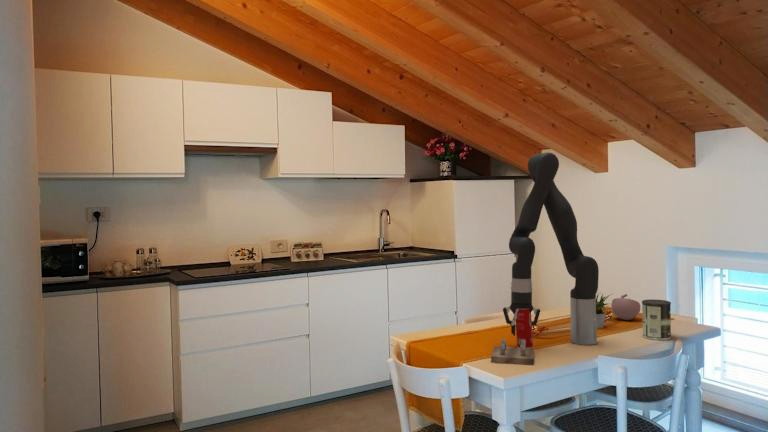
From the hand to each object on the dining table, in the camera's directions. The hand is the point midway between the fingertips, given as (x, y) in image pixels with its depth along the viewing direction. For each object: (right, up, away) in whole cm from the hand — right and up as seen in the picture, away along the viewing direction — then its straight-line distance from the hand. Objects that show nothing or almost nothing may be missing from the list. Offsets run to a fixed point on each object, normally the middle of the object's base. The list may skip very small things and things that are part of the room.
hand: (521, 335), depth 212 cm
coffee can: (+56, -3, +12) cm, 57 cm away
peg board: (-6, -5, -13) cm, 16 cm away
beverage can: (+1, -5, 0) cm, 5 cm away
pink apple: (+57, -2, +44) cm, 72 cm away
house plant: (+38, -3, +31) cm, 50 cm away
